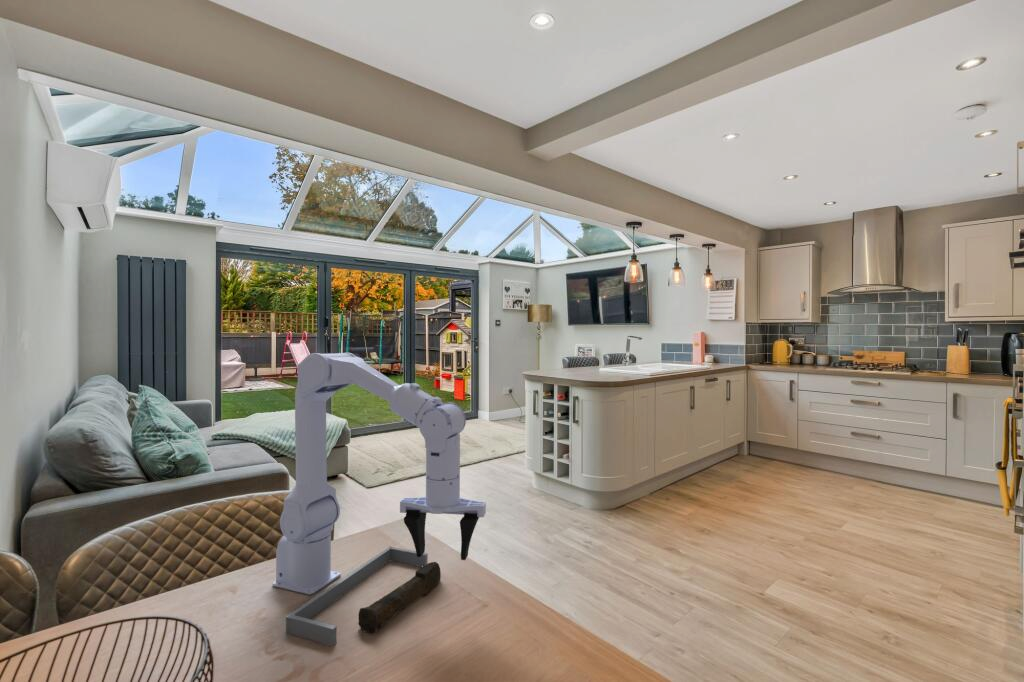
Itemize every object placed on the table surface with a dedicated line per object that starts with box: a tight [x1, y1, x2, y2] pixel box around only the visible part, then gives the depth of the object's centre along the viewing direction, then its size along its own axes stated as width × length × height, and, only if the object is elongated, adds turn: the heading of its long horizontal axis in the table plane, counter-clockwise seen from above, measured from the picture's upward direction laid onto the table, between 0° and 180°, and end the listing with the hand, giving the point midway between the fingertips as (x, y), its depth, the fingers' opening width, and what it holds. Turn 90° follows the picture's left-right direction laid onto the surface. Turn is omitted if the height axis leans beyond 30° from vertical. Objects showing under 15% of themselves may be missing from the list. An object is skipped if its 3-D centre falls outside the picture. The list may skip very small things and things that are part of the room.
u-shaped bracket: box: [285, 546, 429, 647], centre depth 86 cm, size 9×28×2 cm, turn 159°
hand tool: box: [358, 561, 442, 635], centre depth 83 cm, size 19×4×5 cm, turn 148°
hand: (442, 555), depth 80 cm, fingers open, 7 cm apart
